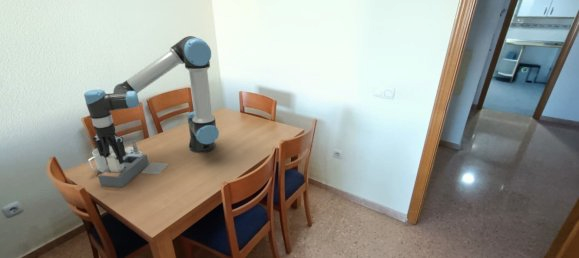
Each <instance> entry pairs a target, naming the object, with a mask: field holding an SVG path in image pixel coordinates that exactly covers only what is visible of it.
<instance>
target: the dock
mask: <svg viewBox="0 0 579 258" xmlns="http://www.w3.org/2000/svg"><path fill="white" fill-rule="evenodd" d="M123 161H124V163H123V165H124V170H122V171H121V172H120V173H111V171H110V168H107V169H106V170H105V171H104V172H101V173H100V174H98V175H97V177H98V181H99V183H100V186H102V187H116V188H124V187H125V186H126V185H127V184H128V183H129V182H131V181H132V179H133V178H134V177H136V176H137V175H138V174H139V173H141V172H142V171H143V170H144V169H145V168H146V167H147V166H148V165H149V164H150V163H149V160H148V155H147V154H145V153H144V154H143V153H142V154H130V153H127V154H126V155H125V156H124V157H123Z"/></svg>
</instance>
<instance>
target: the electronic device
mask: <svg viewBox="0 0 579 258" xmlns="http://www.w3.org/2000/svg"><path fill="white" fill-rule="evenodd" d="M131 144H132V146H127V147H124V148H125V152H126V154H127V153H130V154H143V152H142V151H141V150H140V149H138V146H137V142H136V141H132V142H131Z"/></svg>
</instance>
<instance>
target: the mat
mask: <svg viewBox="0 0 579 258" xmlns="http://www.w3.org/2000/svg"><path fill="white" fill-rule="evenodd" d="M168 166H169V163H162V162H150V163H149V164H148V165H146V166H145V167H144V168H143V169H142V170H141V171H140V174H149V175H150V174H152V175H160V174H161V173H162V172H163V171H164V169H165V168H167V167H168Z"/></svg>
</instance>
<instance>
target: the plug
mask: <svg viewBox="0 0 579 258" xmlns="http://www.w3.org/2000/svg"><path fill="white" fill-rule="evenodd" d="M106 158H107V162H108V165H109V168H110V171H111V173H120V172H121V171H122V170H124V168H123V169H122V170H121V171H119V168H118V165H117V162H116V158H117V157H116V155H115V153H112V154H111V155H109V156H108V157H106Z"/></svg>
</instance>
